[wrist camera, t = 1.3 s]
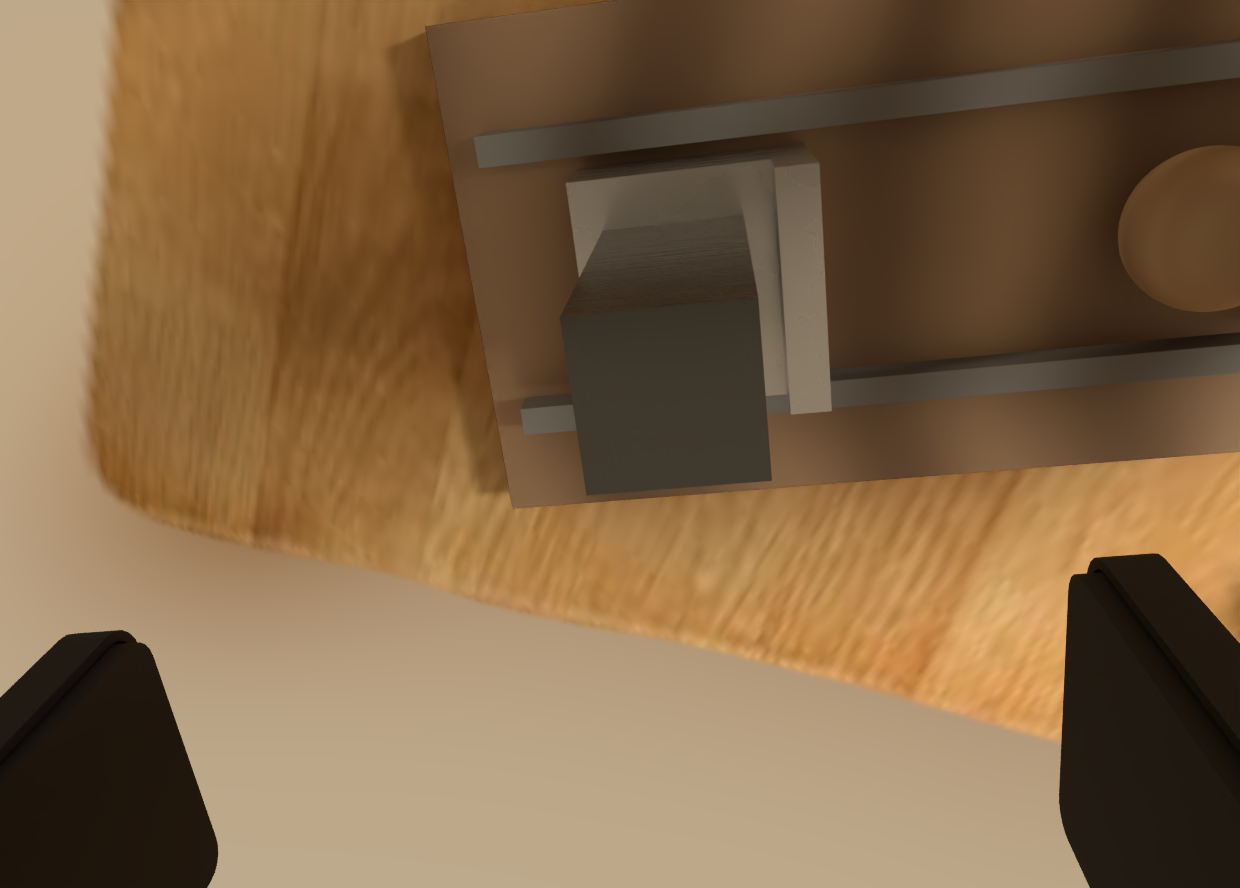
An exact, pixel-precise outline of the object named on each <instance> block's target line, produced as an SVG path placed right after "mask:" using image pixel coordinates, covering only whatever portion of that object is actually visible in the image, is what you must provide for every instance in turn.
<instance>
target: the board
mask: <svg viewBox="0 0 1240 888" xmlns="http://www.w3.org/2000/svg"><path fill="white" fill-rule="evenodd" d="M425 28H426V34H427V39H428V45H429V50H430V56H431V61H432V67H433V72H434V78H435V83H436V89H437V94H438V100H439V105H440V111H441V116H442V122H443V127H444V133H445V138H446V144H447V149H448V155H449V160H450V166H451V171H452V177H453V182H454V188H455V193H456V199H457V204H458V210H459V215H460V221H461V226H462V232H463V237H464V243H465V248H466V254H467V259H468V265H469V270H470V276H471V281H472V287H473V292H474V298H475V303H476V309H477V314H478V320H479V325H480V331H481V336H482V342H483V347H484V353H485V359H486V364H487V370H488V375H489V381H490V386H491V392H492V397H493V403H494V408H495V414H496V419H497V425H498V430H499V436H500V441H501V447H502V452H503V458H504V463H505V469H506V474H507V480H508V485H509V491H510V496H511V502H512V507H513V509H515V508H528V507H540V506H553V505H566V504H579V503H591V502H604V501H617V500H630V499H642V498H655V497H668V496H681V495H694V494H706V493H719V492H732V491H745V490H757V489H770V488H783V487H796V486H809V485H821V484H834V483H847V482H860V481H872V480H885V479H898V478H911V477H924V476H936V475H949V474H962V473H975V472H987V471H1000V470H1013V469H1026V468H1038V467H1051V466H1064V465H1077V464H1090V463H1102V462H1115V461H1128V460H1141V459H1153V458H1166V457H1179V456H1192V455H1205V454H1217V453H1230V452H1240V0H614V1H607V2H599V3H592V4H585V5H578V6H570V7H563V8H556V9H549V10H541V11H534V12H527V13H520V14H512V15H505V16H498V17H491V18H483V19H476V20H469V21H461V22H454V23H447V24H440V25H432V26H425ZM795 143H805V144H806V146H807V147H808V148H809V150H810V151H811V152H812V154H813V155H814V156H815V157H816V159H817V160H818V161H819V164H820V184H821V204H822V224H823V245H824V265H825V285H826V305H827V325H828V345H829V366H830V386H831V406H832V411H828V412H816V413H804V414H793V415H791V413H790V408H789V403H788V399H787V394H783V395H771V396H766V406H767V420H768V433H769V446H770V460H771V473H772V481H764V482H752V483H739V484H726V485H714V486H701V487H688V488H676V489H663V490H650V491H638V492H625V493H613V494H600V495H587V496H586V489H585V482H584V476H583V469H582V462H581V456H580V449H579V443H578V436H577V429H576V423H575V416H574V409H573V403H572V396H571V389H570V383H569V376H568V370H567V363H566V356H565V350H564V343H563V336H562V330H561V323H560V316H561V314H562V312H563V310H564V308H565V306H566V304H567V302H568V300H569V298H570V296H571V294H572V292H573V290H574V288H575V286H576V283H577V281H578V279H579V274H578V267H577V259H576V252H575V245H574V238H573V231H572V224H571V217H570V210H569V203H568V196H567V189H566V182H567V181H568V180H569V179H570V178H571V176H572V175H573V174H574V173H575V172H576V171H577V169H584V168H592V167H601V166H609V165H618V164H626V163H635V162H643V161H652V160H660V159H669V158H677V157H686V156H694V155H702V154H711V153H719V152H728V151H736V150H745V149H753V148H762V147H770V146H779V145H787V144H795Z"/></svg>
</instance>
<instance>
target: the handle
mask: <svg viewBox="0 0 1240 888" xmlns="http://www.w3.org/2000/svg"><path fill="white" fill-rule="evenodd" d="M566 189H567V196H568V203H569V210H570V217H571V224H572V231H573V238H574V245H575V252H576V259H577V267H578V274H579V279H578V281H577V283H576V286H575V288H574V290H573V292H572V294H571V296H570V298H569V300H568V302H567V304H566V306H565V308H564V310H563V312H562V314H561V316H560V323H561V330H562V336H563V343H564V350H565V356H566V363H567V370H568V376H569V383H570V389H571V396H572V403H573V409H574V416H575V423H576V429H577V436H578V443H579V449H580V456H581V462H582V469H583V476H584V482H585V489H586V496H587V495H600V494H613V493H625V492H638V491H650V490H663V489H676V488H688V487H701V486H714V485H726V484H739V483H752V482H764V481H772V473H771V460H770V446H769V433H768V420H767V406H766V396H771V395H783V394H787V399H788V403H789V408H790V413H791V415H793V414H804V413H816V412H828V411H832V406H831V386H830V366H829V345H828V325H827V305H826V285H825V265H824V245H823V224H822V204H821V184H820V164H819V161H818V160H817V159H816V157H815V156H814V155H813V154H812V152H811V151H810V150H809V148H808V147H807V146H806V144H805V143H795V144H787V145H779V146H770V147H762V148H753V149H745V150H736V151H728V152H719V153H711V154H702V155H694V156H686V157H677V158H669V159H660V160H652V161H643V162H635V163H626V164H618V165H609V166H601V167H592V168H584V169H577V171H576V172H575V173H574V174H573V175H572V176H571V178H570V179H569V180H568V181H567V182H566Z"/></svg>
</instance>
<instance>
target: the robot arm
mask: <svg viewBox="0 0 1240 888" xmlns="http://www.w3.org/2000/svg"><path fill="white" fill-rule="evenodd" d="M1060 767H1061V768H1060V788H1059V804H1060V813H1061V818H1062V823H1063V827H1064V830H1065V833H1066V836H1067V839H1068V841H1069V843H1070V845H1071V847H1072V850H1073V852H1074V854H1075V856H1076V858H1077V861H1078V863H1079V865H1080V867H1081V869H1082V871H1083V874H1084V876H1085V878H1086V880H1087V882H1088V885H1089V887H1090V888H1240V643H1239V642H1238V641H1237V640H1236V639H1235V638H1234V637H1233V636H1232V634H1231V633H1230V632H1229V631H1228V630H1227V629H1226V628H1225V626H1224V625H1223V624H1222V623H1221V622H1220V621H1219V620H1218V619H1217V617H1216V616H1215V615H1214V614H1213V613H1212V612H1211V611H1210V609H1209V608H1208V607H1207V606H1206V605H1205V604H1204V603H1203V601H1202V600H1201V599H1200V598H1199V597H1198V596H1197V595H1196V594H1195V592H1194V591H1193V590H1192V589H1191V588H1190V587H1189V586H1188V584H1187V583H1186V582H1185V581H1184V580H1183V579H1182V578H1181V577H1180V575H1179V574H1178V573H1177V572H1176V571H1175V570H1174V569H1173V567H1172V566H1171V565H1170V564H1169V563H1168V562H1167V561H1166V559H1165V558H1163V557H1162V556H1161V555H1159V554H1139V555H1126V556H1112V557H1099V558H1094V559H1093V560H1092V561H1091V562H1090V565H1089V567H1088V571H1087V574H1074V575H1073V576H1072V577H1071V580H1070V582H1069V590H1068V611H1067V633H1066V655H1065V677H1064V699H1063V722H1062V744H1061V766H1060ZM217 858H218V844H217V840H216V837H215V833H214V830H213V828H212V825H211V822H210V819H209V816H208V813H207V810H206V807H205V805H204V802H203V799H202V796H201V793H200V790H199V787H198V784H197V781H196V778H195V776H194V773H193V770H192V767H191V764H190V761H189V758H188V755H187V753H186V750H185V747H184V744H183V741H182V738H181V735H180V732H179V730H178V727H177V724H176V721H175V718H174V715H173V712H172V709H171V706H170V703H169V700H168V698H167V695H166V692H165V689H164V686H163V683H162V680H161V677H160V675H159V672H158V669H157V666H156V663H155V660H154V657H153V655H152V653H151V651H150V649H149V648H148V647H147V646H146V645H145V644H143V643H137V642H136V639H135V638H134V637H133V636H132V635H131V634H130V633H128V632H126V631H123V630H117V631H104V632H91V633H78V634H70V635H66V636H65V637H63V638H62V639H60V640H59V641H58V642H57V643H56V644H55V645H54V646H53V647H52V648H51V649H50V650H49V651H48V652H47V653H46V654H44V655H43V657H41V658H40V659H39V660H38V661H37V662H36V663H35V664H34V665H33V666H32V667H31V668H30V669H29V670H28V671H27V672H26V673H25V674H24V675H23V676H22V677H21V678H20V679H19V680H18V681H17V682H16V683H15V684H14V685H13V686H12V687H11V688H10V689H9V690H8V691H7V692H6V693H5V694H3V695H2V696H1V697H0V888H207V887H208V885H209V883H210V882H211V880H212V877H213V875H214V873H215V870H216V866H217V860H218V859H217Z"/></svg>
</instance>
